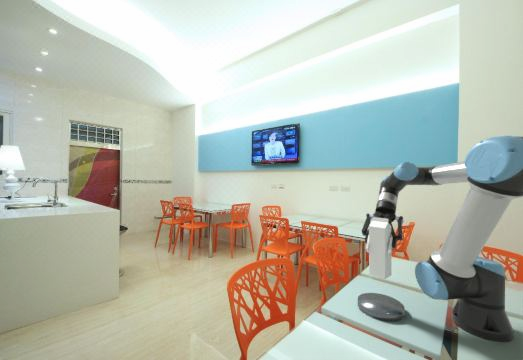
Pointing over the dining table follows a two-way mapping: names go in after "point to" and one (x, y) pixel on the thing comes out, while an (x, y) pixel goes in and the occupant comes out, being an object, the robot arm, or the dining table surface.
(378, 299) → the dark grey plate
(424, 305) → the dining table surface
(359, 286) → the dining table surface
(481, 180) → the robot arm
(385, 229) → the milk
